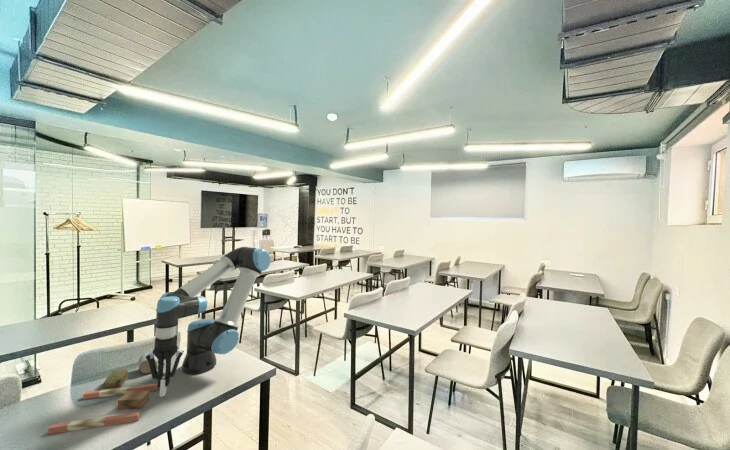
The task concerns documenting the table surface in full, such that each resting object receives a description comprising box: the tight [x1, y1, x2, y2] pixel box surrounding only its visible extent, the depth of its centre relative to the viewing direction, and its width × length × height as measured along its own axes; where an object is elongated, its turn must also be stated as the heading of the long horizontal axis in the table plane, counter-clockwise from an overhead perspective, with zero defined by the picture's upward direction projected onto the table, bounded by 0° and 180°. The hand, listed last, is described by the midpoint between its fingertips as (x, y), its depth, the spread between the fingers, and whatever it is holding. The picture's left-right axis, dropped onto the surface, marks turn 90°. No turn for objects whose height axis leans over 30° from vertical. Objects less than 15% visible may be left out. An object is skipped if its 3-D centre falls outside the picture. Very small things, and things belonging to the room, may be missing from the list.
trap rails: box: [47, 382, 159, 435], centre depth 112 cm, size 25×22×2 cm
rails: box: [67, 385, 132, 432], centre depth 111 cm, size 10×22×2 cm, turn 20°
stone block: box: [102, 369, 129, 390], centre depth 126 cm, size 6×12×5 cm, turn 25°
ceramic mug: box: [137, 351, 166, 374], centre depth 141 cm, size 11×8×8 cm
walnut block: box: [116, 391, 151, 411], centre depth 114 cm, size 8×6×4 cm
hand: (162, 394), depth 117 cm, fingers closed
